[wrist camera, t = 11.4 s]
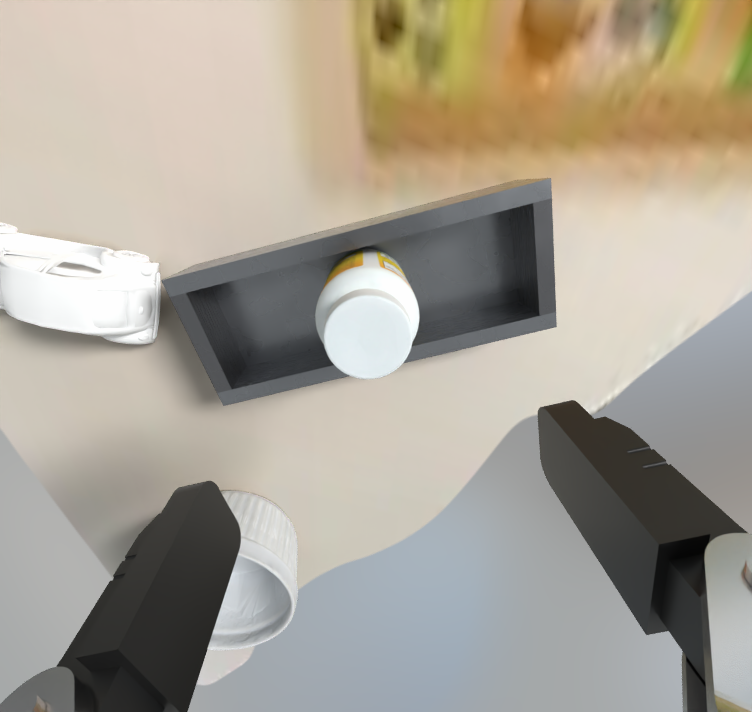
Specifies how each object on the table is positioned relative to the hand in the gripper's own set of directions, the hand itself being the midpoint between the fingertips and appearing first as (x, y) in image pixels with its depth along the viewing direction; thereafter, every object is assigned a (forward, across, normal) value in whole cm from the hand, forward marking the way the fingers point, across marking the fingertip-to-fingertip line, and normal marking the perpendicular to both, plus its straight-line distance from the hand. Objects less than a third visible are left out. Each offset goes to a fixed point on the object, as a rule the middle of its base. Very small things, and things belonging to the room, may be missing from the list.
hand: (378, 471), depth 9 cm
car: (+19, +19, -5) cm, 28 cm away
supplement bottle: (+18, 0, 0) cm, 18 cm away
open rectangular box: (+19, 0, 0) cm, 19 cm away
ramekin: (+19, +18, +20) cm, 33 cm away
